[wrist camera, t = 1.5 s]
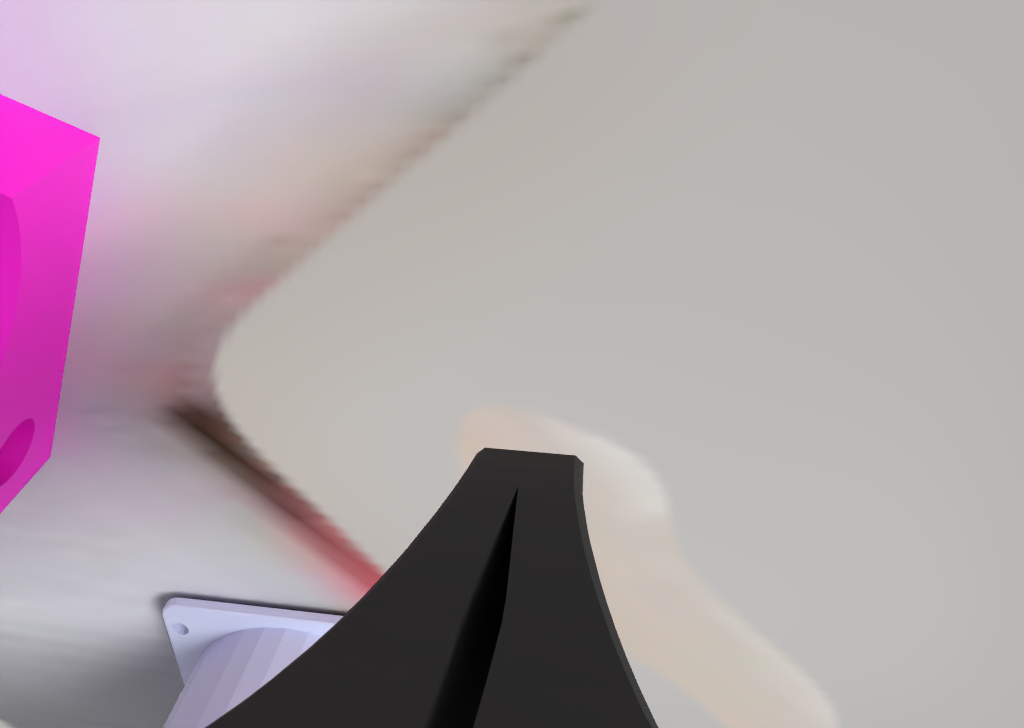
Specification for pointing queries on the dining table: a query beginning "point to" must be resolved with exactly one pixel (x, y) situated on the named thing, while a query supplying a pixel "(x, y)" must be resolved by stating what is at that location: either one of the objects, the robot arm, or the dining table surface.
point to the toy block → (37, 277)
